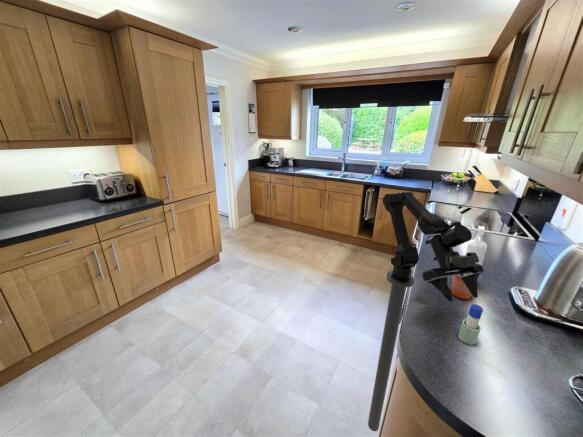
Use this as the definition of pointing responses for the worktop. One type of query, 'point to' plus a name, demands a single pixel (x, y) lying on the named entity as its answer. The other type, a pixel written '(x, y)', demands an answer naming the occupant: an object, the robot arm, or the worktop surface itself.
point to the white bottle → (478, 245)
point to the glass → (468, 333)
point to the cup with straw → (461, 287)
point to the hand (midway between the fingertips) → (463, 299)
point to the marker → (474, 316)
